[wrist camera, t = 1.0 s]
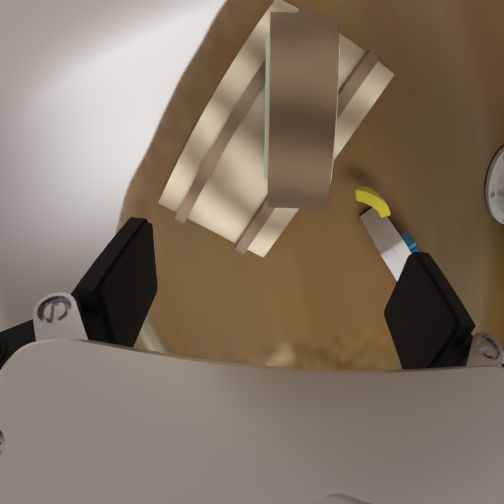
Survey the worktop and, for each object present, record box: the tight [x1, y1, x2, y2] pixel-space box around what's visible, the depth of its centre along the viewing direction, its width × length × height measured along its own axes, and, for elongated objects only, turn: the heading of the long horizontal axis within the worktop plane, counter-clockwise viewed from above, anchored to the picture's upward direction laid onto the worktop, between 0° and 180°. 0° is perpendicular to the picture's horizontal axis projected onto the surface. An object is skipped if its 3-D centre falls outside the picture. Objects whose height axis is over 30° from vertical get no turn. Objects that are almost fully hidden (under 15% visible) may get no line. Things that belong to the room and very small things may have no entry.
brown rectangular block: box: [264, 12, 340, 210], centre depth 22 cm, size 14×5×9 cm, turn 0°
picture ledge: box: [159, 0, 394, 257], centre depth 29 cm, size 26×14×3 cm, turn 150°
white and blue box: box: [355, 187, 419, 281], centre depth 34 cm, size 32×4×10 cm, turn 41°
